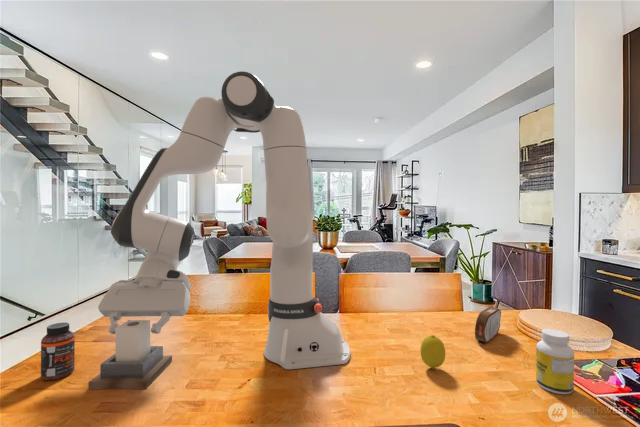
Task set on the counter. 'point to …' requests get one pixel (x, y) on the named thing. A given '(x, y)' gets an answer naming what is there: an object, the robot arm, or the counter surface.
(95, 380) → the walnut jig board
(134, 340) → the nylon bushing block
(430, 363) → the lemon
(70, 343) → the supplement bottle
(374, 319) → the counter surface
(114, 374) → the socket collar
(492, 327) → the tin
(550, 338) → the pill bottle
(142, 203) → the robot arm
